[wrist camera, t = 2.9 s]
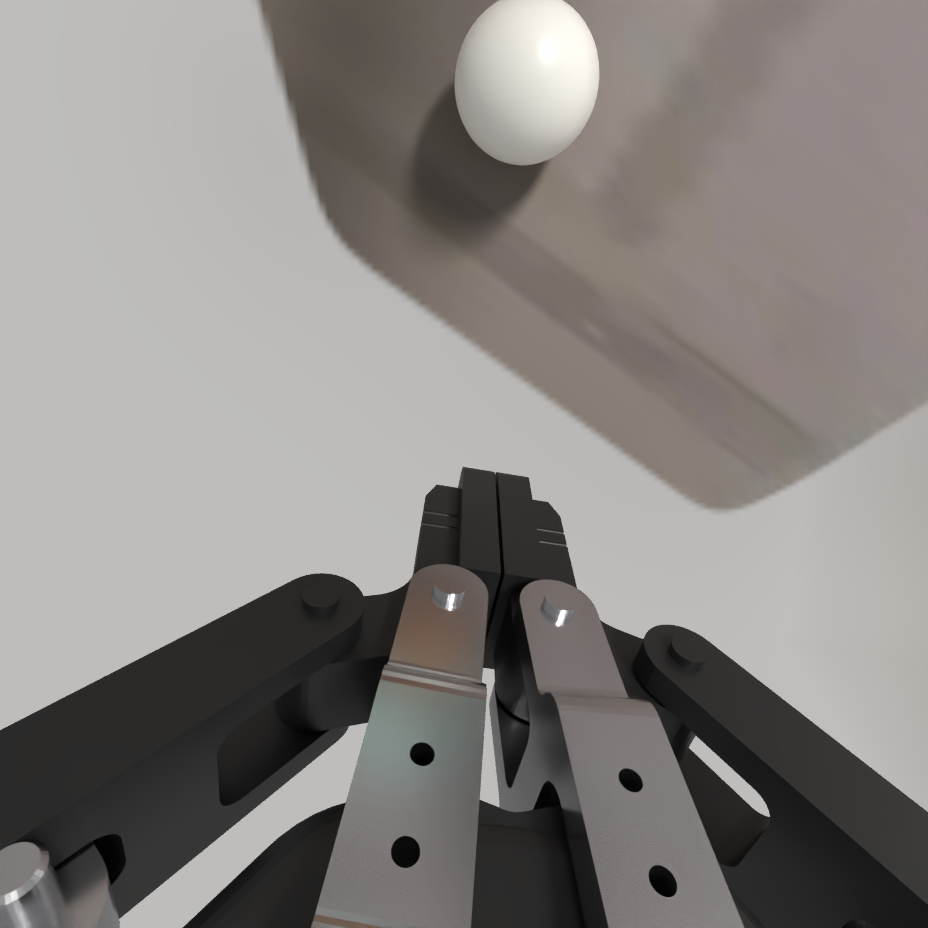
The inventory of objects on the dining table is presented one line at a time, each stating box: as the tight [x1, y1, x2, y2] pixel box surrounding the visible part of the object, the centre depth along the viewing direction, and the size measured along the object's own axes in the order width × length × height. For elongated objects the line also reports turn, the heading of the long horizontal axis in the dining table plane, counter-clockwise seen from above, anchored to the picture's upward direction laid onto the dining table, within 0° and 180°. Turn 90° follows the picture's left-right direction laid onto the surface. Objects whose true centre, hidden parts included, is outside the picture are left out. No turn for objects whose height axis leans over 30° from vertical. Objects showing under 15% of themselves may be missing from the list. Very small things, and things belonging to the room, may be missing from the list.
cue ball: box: [455, 0, 599, 165], centre depth 22 cm, size 6×6×6 cm
